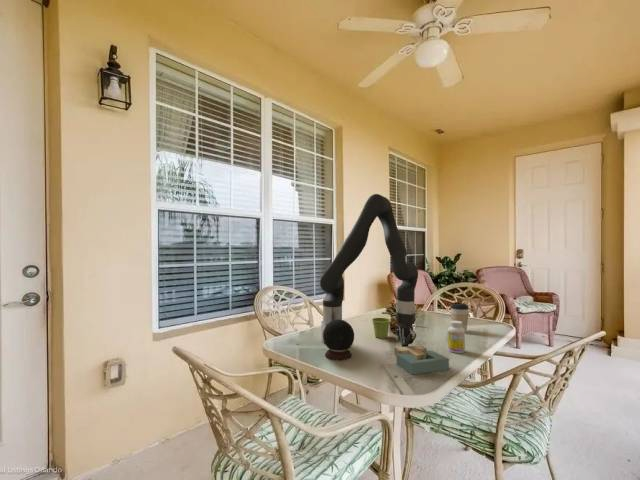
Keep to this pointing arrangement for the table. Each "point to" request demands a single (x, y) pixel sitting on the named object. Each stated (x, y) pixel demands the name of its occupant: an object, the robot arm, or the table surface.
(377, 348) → the table surface
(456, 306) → the coffee cup
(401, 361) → the dock
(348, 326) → the black ball on stand
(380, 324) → the plant pot
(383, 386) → the table surface
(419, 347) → the t block
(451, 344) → the supplement bottle
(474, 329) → the table surface
